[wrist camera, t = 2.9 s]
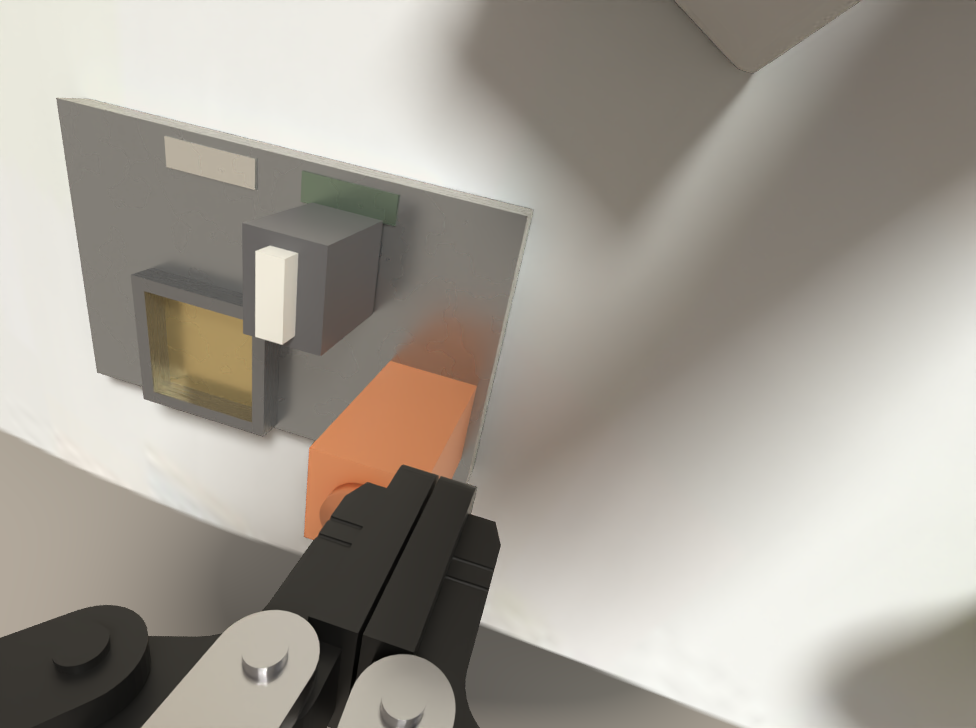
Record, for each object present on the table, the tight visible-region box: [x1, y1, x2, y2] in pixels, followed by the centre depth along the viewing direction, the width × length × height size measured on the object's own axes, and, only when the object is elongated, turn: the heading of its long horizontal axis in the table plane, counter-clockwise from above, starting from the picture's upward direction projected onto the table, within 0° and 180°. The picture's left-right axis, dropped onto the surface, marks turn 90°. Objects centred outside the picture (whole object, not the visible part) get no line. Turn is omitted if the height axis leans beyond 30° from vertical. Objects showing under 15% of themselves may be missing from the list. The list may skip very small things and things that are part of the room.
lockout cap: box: [304, 361, 477, 540], centre depth 21 cm, size 4×4×8 cm
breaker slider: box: [242, 202, 383, 356], centre depth 20 cm, size 3×4×5 cm
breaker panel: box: [56, 98, 534, 484], centre depth 24 cm, size 20×13×3 cm, turn 78°
